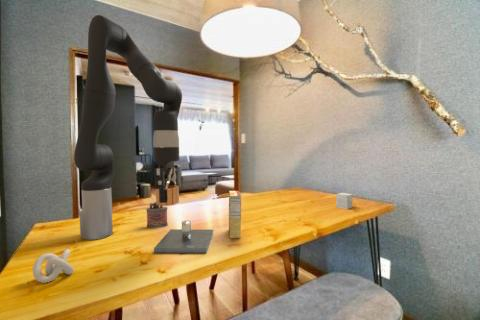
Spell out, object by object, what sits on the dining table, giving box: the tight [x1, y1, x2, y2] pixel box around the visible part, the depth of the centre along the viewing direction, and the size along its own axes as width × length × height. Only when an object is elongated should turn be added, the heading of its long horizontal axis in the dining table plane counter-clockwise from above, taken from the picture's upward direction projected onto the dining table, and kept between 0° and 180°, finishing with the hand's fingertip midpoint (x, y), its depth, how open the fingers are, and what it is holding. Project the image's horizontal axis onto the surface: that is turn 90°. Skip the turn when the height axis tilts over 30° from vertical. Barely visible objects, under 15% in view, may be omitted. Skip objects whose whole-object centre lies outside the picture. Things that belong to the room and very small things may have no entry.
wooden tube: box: [155, 184, 180, 207], centre depth 71 cm, size 7×7×5 cm
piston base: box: [153, 220, 214, 254], centre depth 78 cm, size 16×16×7 cm
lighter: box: [146, 201, 169, 229], centre depth 94 cm, size 8×3×10 cm, turn 105°
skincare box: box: [335, 192, 354, 210], centre depth 123 cm, size 6×6×7 cm
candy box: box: [228, 190, 242, 239], centre depth 85 cm, size 9×4×15 cm, turn 6°
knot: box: [32, 248, 75, 284], centre depth 57 cm, size 8×8×6 cm
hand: (167, 199), depth 71 cm, fingers closed on wooden tube, 6 cm apart
